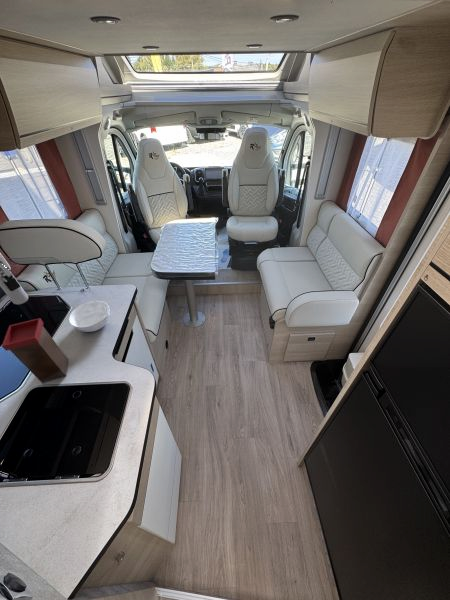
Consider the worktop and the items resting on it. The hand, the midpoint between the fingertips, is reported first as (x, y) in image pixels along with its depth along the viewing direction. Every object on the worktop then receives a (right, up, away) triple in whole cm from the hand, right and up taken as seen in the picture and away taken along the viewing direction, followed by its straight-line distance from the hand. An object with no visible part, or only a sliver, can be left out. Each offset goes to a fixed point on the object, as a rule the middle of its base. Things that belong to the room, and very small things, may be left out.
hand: (10, 286), depth 87 cm
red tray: (+1, -18, +5) cm, 19 cm away
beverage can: (0, -5, +5) cm, 7 cm away
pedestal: (+2, -35, +20) cm, 40 cm away
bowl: (+8, -17, +40) cm, 45 cm away
